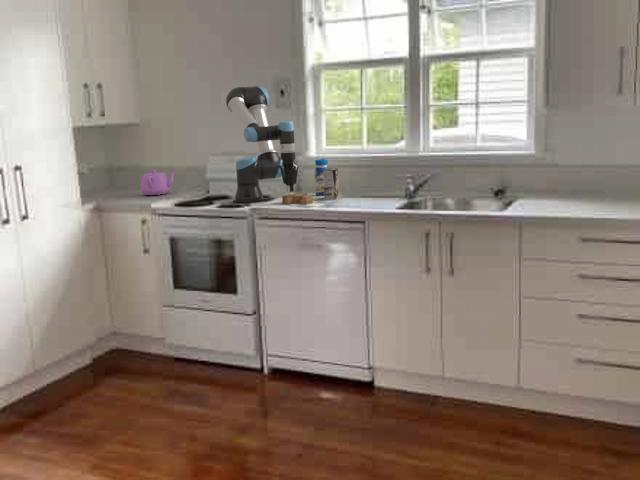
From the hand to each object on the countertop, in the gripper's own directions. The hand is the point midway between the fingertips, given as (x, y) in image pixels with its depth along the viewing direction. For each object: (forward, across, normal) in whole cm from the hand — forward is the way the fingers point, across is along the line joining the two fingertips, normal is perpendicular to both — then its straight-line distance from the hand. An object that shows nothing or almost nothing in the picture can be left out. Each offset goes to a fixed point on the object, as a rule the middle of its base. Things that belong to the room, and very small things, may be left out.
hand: (290, 197), depth 347 cm
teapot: (+2, -103, -19) cm, 105 cm away
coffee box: (+3, +11, +19) cm, 22 cm away
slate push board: (+3, +10, 0) cm, 10 cm away
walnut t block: (+2, +7, 0) cm, 8 cm away
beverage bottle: (+3, -3, +26) cm, 26 cm away
